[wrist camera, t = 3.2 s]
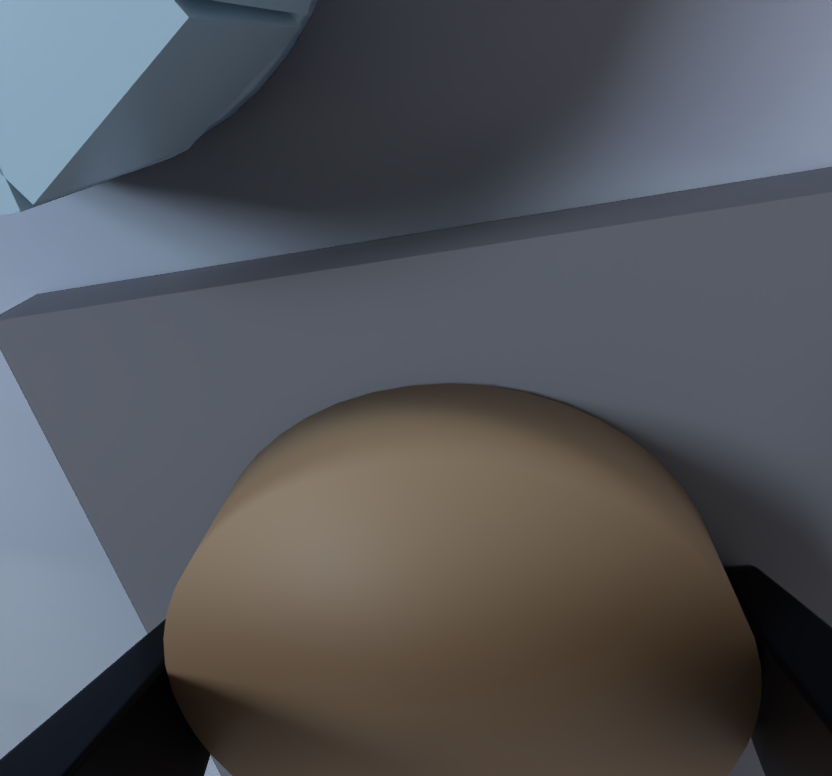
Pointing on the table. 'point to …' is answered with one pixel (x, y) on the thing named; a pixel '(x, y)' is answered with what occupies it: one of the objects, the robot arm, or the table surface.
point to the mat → (466, 364)
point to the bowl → (125, 83)
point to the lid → (461, 601)
